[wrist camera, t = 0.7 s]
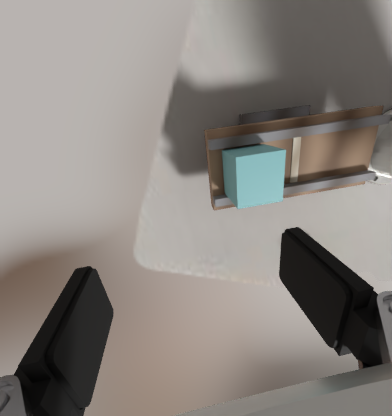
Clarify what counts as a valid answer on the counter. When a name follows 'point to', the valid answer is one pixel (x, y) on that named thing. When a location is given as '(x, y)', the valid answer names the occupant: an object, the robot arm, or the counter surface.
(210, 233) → the counter surface
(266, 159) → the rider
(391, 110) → the robot arm
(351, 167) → the wooden tray
